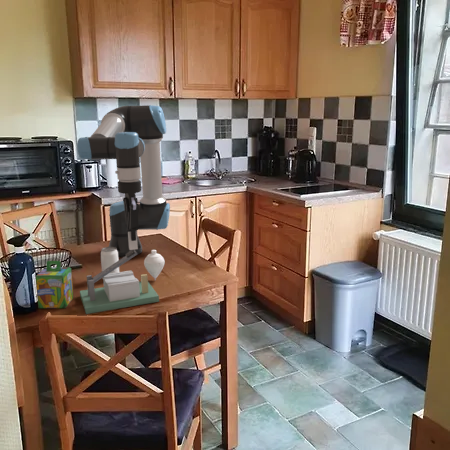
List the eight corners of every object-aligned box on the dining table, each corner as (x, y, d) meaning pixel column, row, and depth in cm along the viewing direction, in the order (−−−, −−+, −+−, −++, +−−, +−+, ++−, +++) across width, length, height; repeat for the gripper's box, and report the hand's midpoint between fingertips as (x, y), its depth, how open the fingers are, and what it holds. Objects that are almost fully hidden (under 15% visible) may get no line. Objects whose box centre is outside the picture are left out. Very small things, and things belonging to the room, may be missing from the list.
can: (123, 276, 183) (121, 247, 180) (113, 282, 177) (111, 252, 174) (108, 275, 185) (106, 245, 182) (99, 280, 179) (96, 250, 176)
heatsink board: (80, 296, 164) (78, 271, 162) (147, 285, 173) (146, 262, 171) (86, 314, 150) (83, 287, 148) (159, 301, 159) (157, 276, 157)
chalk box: (38, 309, 154) (33, 266, 150) (47, 298, 163) (43, 257, 159) (66, 308, 154) (62, 266, 150) (74, 297, 163) (70, 257, 159)
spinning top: (166, 282, 176) (165, 252, 173) (146, 285, 174) (144, 254, 171) (163, 275, 183) (162, 246, 180) (143, 278, 181) (142, 248, 178)
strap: (89, 282, 158) (86, 279, 157) (135, 251, 162) (133, 248, 161) (90, 285, 155) (88, 282, 154) (138, 254, 159) (135, 251, 158)
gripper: (114, 178, 158) (118, 245, 164) (121, 183, 147) (126, 255, 152) (136, 176, 161) (139, 242, 167) (145, 182, 149) (148, 252, 155)
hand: (133, 248), depth 160 cm, fingers closed
